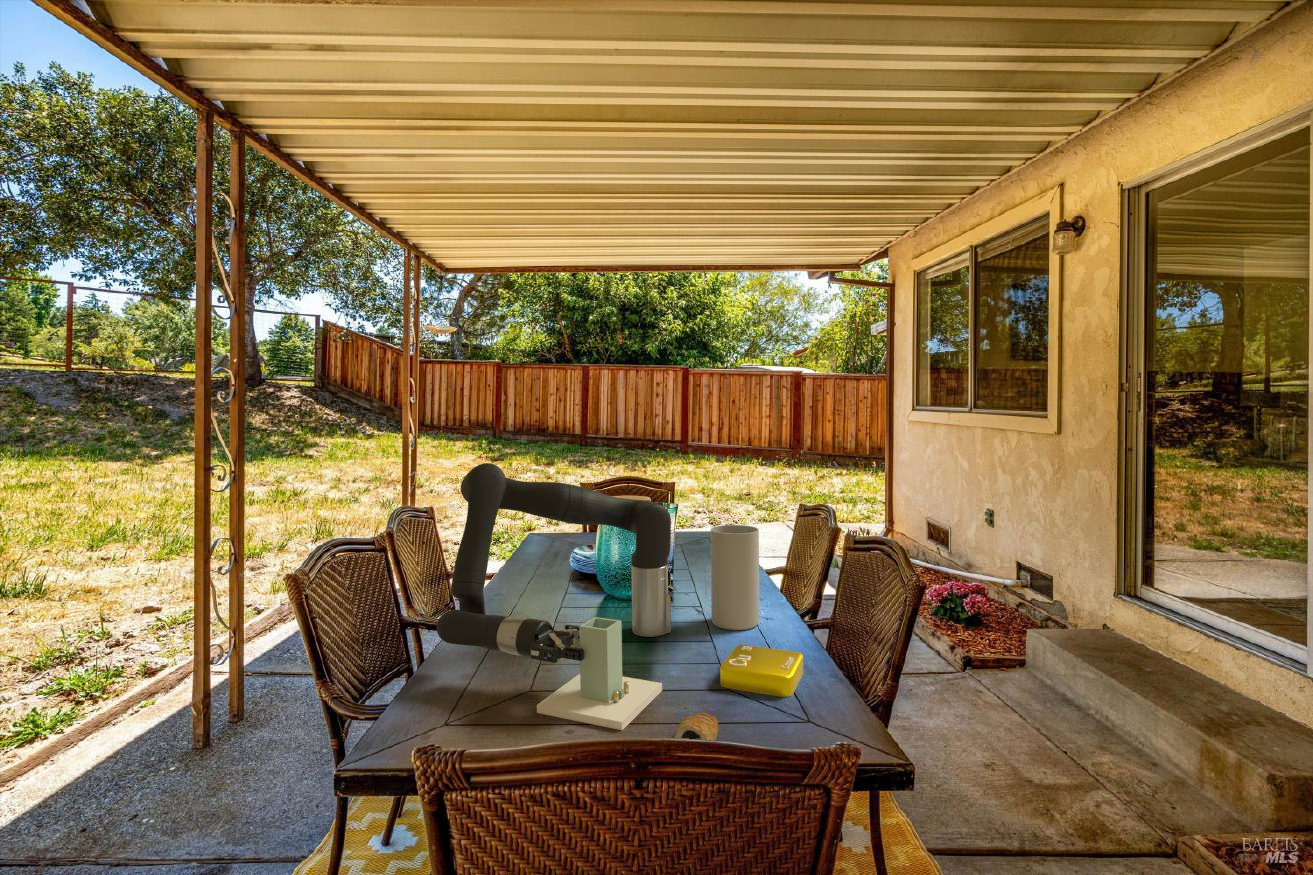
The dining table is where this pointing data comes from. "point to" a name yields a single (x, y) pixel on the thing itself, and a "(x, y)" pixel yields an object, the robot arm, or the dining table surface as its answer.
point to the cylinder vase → (735, 577)
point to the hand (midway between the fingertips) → (594, 647)
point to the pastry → (698, 727)
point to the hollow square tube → (601, 659)
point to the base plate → (601, 703)
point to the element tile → (762, 670)
